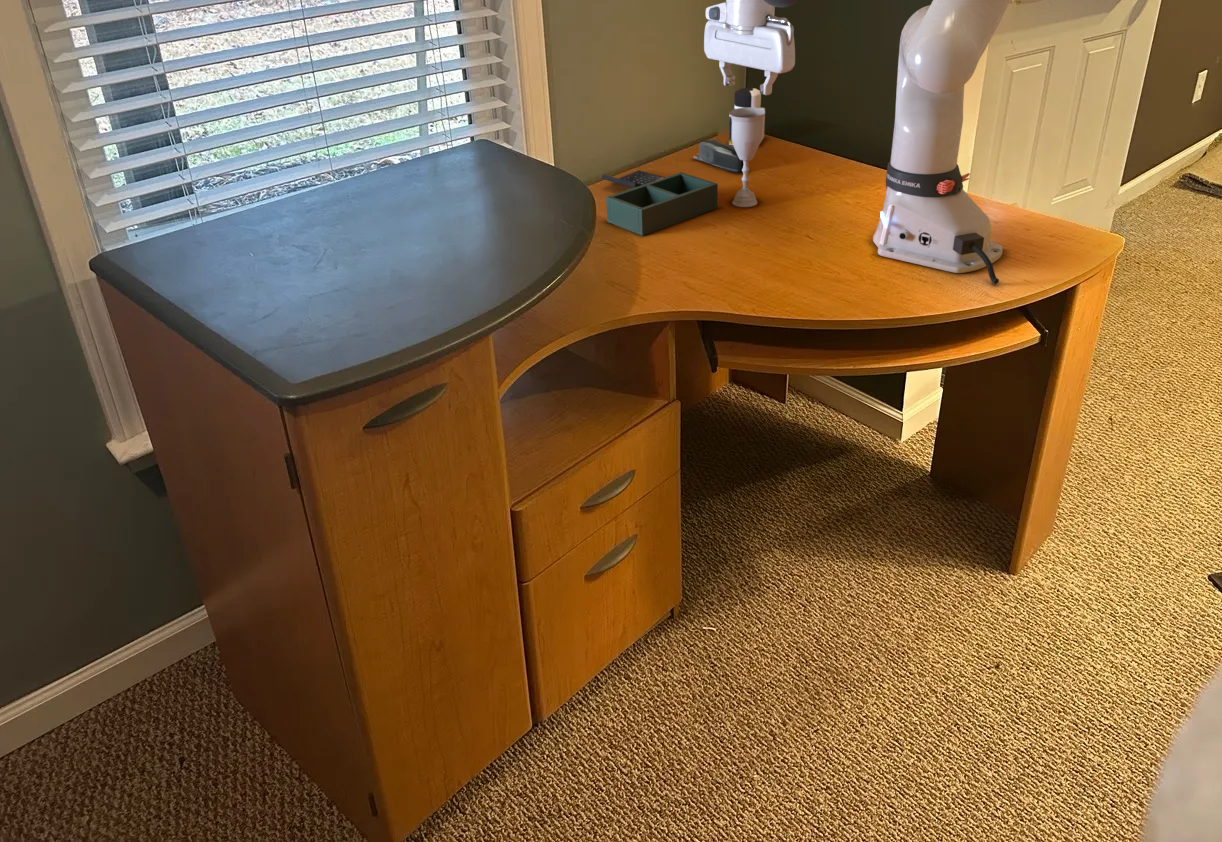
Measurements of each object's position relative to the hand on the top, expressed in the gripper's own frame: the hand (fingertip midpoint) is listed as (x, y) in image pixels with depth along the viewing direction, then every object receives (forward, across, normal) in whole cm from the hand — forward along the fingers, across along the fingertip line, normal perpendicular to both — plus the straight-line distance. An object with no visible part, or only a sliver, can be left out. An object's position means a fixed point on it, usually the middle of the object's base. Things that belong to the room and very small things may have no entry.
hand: (747, 89), depth 187 cm
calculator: (+23, +24, +8) cm, 34 cm away
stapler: (+22, +20, -13) cm, 33 cm away
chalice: (+22, 0, 0) cm, 22 cm away
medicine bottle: (+22, +28, -30) cm, 47 cm away
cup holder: (+22, +7, +16) cm, 28 cm away
